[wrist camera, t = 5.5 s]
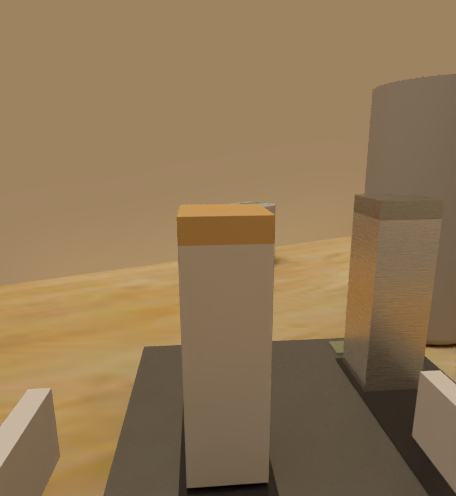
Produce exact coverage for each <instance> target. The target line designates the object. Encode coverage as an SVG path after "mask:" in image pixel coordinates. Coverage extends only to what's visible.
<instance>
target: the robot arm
mask: <svg viewBox="0 0 456 496" xmlns="http://www.w3.org/2000/svg"><path fill="white" fill-rule="evenodd" d="M412 437H413V438H414V439H415V440H416V442H417V443H418V444H419V446H420V447H421V448H422V450H423V451H424V452H425V454H426V455H427V456H428V458H429V459H430V460H431V461H432V463H433V464H434V465H435V467H436V468H437V469H438V471H439V472H440V473H441V475H442V476H443V477H444V479H445V480H446V481H447V482H448V484H449V485H450V486H451V488H452V489H453V490H454V492H455V493H456V384H455V383H454V382H453V381H452V380H450V379H449V378H448V377H447V376H446V375H445V374H444V373H442V372H441V371H440V370H438V371H420V376H419V384H418V392H417V400H416V407H415V415H414V423H413V431H412ZM59 457H60V452H59V445H58V437H57V429H56V421H55V413H54V405H53V398H52V390H51V388H43V389H28V390H27V391H26V393H25V394H24V395H23V397H22V398H21V400H20V401H19V402H18V404H17V405H16V406H15V408H14V409H13V410H12V412H11V413H10V414H9V416H8V417H7V418H6V420H5V421H4V422H3V424H2V425H1V427H0V496H42V493H43V491H44V489H45V487H46V485H47V483H48V481H49V479H50V476H51V474H52V472H53V470H54V468H55V466H56V464H57V461H58V459H59Z"/></svg>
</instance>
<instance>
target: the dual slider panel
mask: <svg viewBox="0 0 456 496" xmlns="http://www.w3.org/2000/svg"><path fill="white" fill-rule="evenodd" d="M443 207H444V200H442V199H436V198H430V197H424V196H418V195H412V194H364V195H355V202H354V214H353V228H352V242H351V255H350V269H349V283H348V296H347V310H346V324H345V337H344V338H335V339H312V340H289V341H272V365H271V405H270V446H269V482H265V483H252V484H238V485H224V486H211V487H197V488H187V484H186V456H185V429H184V401H183V374H182V347H181V345H174V346H151V347H144V350H143V353H142V357H141V360H140V364H139V368H138V371H137V375H136V379H135V382H134V386H133V390H132V393H131V397H130V401H129V404H128V408H127V412H126V415H125V419H124V423H123V426H122V430H121V433H120V437H119V441H118V444H117V448H116V452H115V455H114V459H113V463H112V466H111V470H110V474H109V477H108V481H107V485H106V488H105V492H104V496H456V493H455V492H454V490H453V489H452V488H451V486H450V485H449V484H448V482H447V481H446V480H445V479H444V477H443V476H442V475H441V473H440V472H439V471H438V469H437V468H436V467H435V465H434V464H433V463H432V461H431V460H430V459H429V458H428V456H427V455H426V454H425V452H424V451H423V450H422V448H421V447H420V446H419V444H418V443H417V442H416V440H415V439H414V438H413V437H412V431H413V423H414V415H415V407H416V400H417V392H418V384H419V376H420V371H438V370H440V369H439V368H438V367H437V366H436V365H434V364H433V363H432V362H431V361H430V360H429V359H427V358H426V357H425V356H424V355H425V348H426V340H427V332H428V324H429V316H430V309H431V301H432V293H433V285H434V278H435V270H436V262H437V254H438V246H439V239H440V231H441V223H442V215H443ZM440 371H441V370H440ZM441 372H442V371H441ZM442 373H444V372H442ZM444 374H445V373H444ZM445 375H446V374H445ZM446 376H447V375H446ZM447 377H448V376H447ZM448 378H449V377H448ZM449 379H450V378H449ZM450 380H452V379H450ZM452 381H453V380H452ZM453 382H454V381H453ZM454 383H455V382H454ZM455 384H456V383H455Z"/></svg>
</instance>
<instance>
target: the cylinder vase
mask: <svg viewBox="0 0 456 496" xmlns="http://www.w3.org/2000/svg"><path fill="white" fill-rule="evenodd" d="M367 156H368V157H367V169H366V181H365V194H412V195H418V196H424V197H430V198H436V199H442V200H444V207H443V215H442V223H441V231H440V239H439V246H438V254H437V262H436V270H435V278H434V285H433V293H432V301H431V309H430V316H429V324H428V332H427V340H426V344H428V345H450V344H456V74H450V75H438V76H429V77H421V78H414V79H407V80H402V81H396V82H392V83H388V84H384V85H381V86H378V87H376V88H375V89H373V92H372V105H371V118H370V130H369V143H368V155H367Z"/></svg>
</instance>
